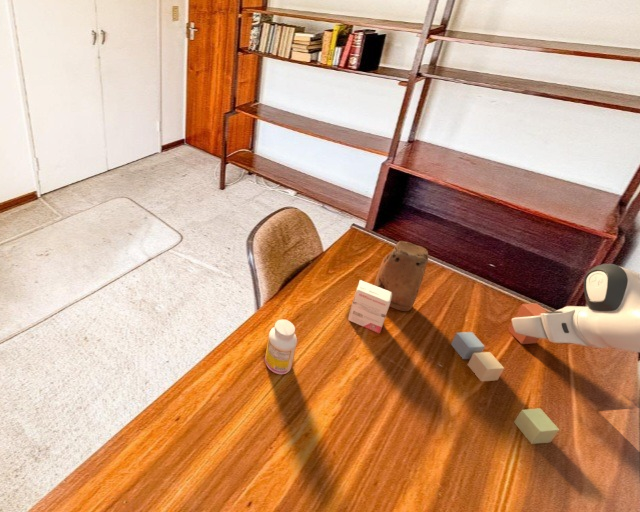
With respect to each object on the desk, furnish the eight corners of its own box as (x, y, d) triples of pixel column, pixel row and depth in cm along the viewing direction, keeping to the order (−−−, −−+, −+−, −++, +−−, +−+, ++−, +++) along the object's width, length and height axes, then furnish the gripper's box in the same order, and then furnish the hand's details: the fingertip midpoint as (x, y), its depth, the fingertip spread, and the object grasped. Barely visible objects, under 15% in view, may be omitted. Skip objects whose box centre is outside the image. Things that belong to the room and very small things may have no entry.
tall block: (522, 329, 111) (536, 303, 106) (536, 343, 107) (552, 316, 102) (507, 330, 110) (521, 303, 106) (521, 344, 106) (536, 317, 102)
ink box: (382, 322, 112) (393, 291, 106) (379, 334, 108) (391, 303, 103) (350, 309, 116) (359, 278, 111) (347, 320, 112) (356, 289, 107)
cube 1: (531, 420, 88) (540, 408, 86) (550, 442, 84) (559, 429, 82) (513, 422, 88) (521, 409, 86) (531, 444, 84) (540, 431, 82)
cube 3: (466, 343, 106) (471, 331, 104) (478, 358, 102) (485, 346, 100) (450, 344, 106) (456, 332, 104) (462, 359, 102) (469, 347, 100)
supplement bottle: (276, 347, 103) (284, 311, 98) (296, 366, 98) (305, 330, 93) (258, 360, 99) (265, 323, 94) (278, 380, 95) (286, 343, 89)
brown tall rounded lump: (410, 299, 120) (430, 247, 111) (410, 316, 114) (431, 262, 105) (372, 286, 125) (389, 234, 116) (370, 301, 118) (387, 249, 110)
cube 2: (483, 363, 101) (489, 351, 99) (497, 380, 97) (504, 368, 95) (467, 364, 101) (473, 352, 99) (480, 381, 96) (487, 369, 95)
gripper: (615, 309, 95) (559, 307, 108) (539, 314, 93) (491, 311, 106) (626, 338, 93) (568, 332, 106) (549, 343, 91) (498, 337, 104)
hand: (529, 322), depth 106 cm, fingers closed on tall block, 4 cm apart
